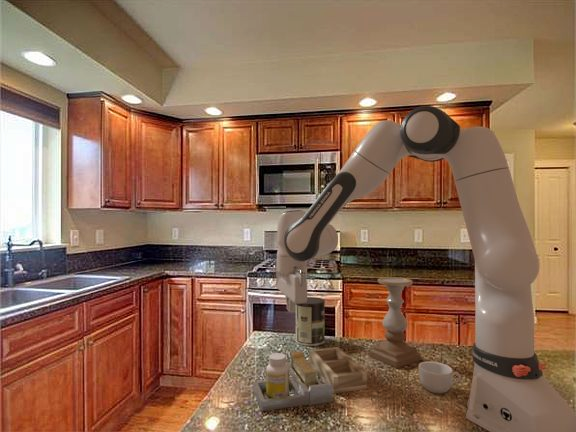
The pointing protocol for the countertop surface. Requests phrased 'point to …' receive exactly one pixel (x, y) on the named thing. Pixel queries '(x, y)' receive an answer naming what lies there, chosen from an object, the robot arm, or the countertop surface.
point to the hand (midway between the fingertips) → (290, 311)
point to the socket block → (301, 394)
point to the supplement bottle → (277, 376)
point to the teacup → (436, 376)
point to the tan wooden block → (303, 368)
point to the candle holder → (395, 328)
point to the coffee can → (310, 322)
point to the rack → (338, 370)
